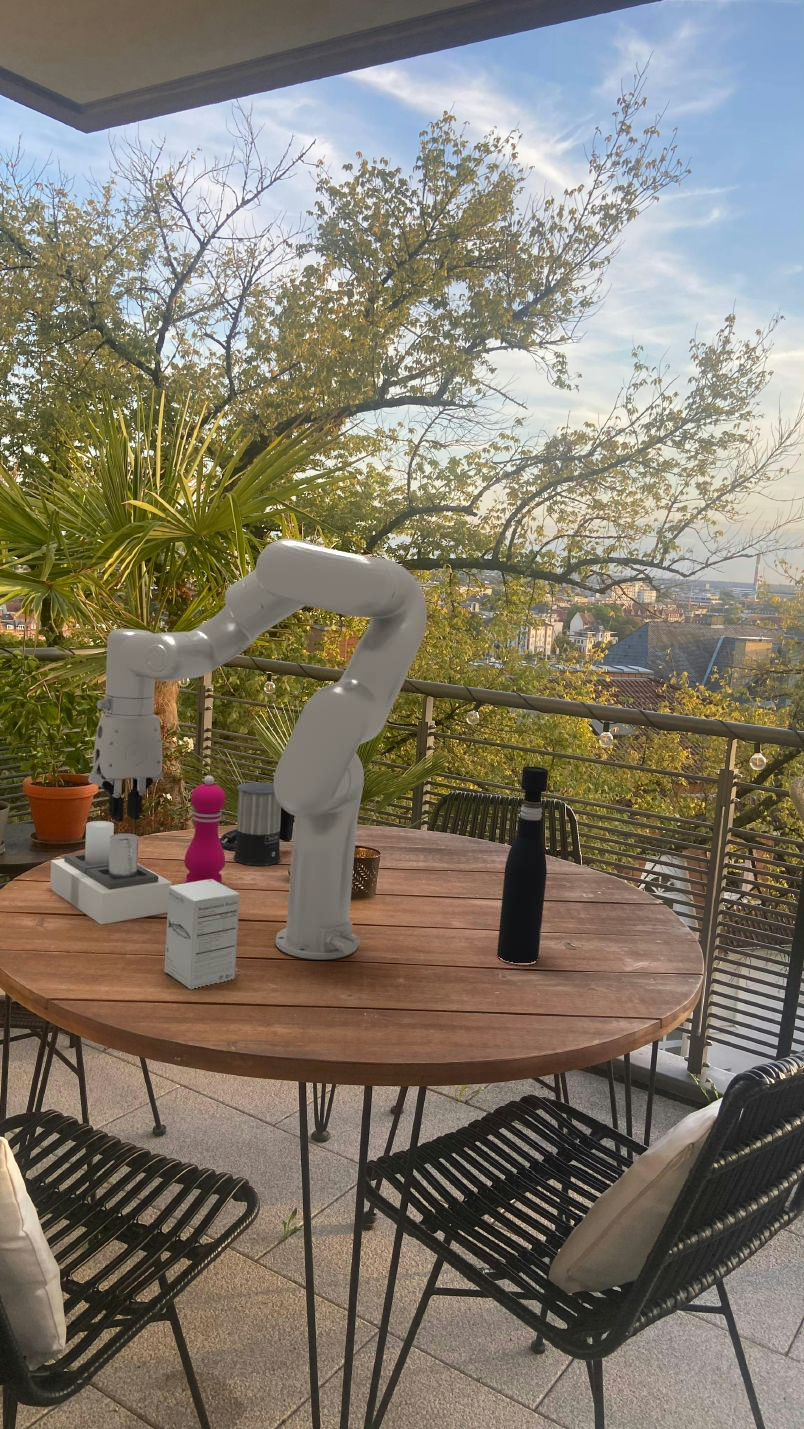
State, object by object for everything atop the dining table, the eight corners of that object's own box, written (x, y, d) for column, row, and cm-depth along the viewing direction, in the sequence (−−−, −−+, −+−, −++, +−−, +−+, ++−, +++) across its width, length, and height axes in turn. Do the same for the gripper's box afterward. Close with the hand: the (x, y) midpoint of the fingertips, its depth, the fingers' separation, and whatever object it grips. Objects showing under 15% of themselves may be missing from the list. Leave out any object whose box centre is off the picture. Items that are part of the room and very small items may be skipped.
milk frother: (266, 869, 187) (271, 794, 185) (194, 856, 192) (198, 782, 190) (298, 852, 201) (302, 782, 199) (230, 840, 206) (234, 771, 204)
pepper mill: (219, 892, 172) (225, 781, 169) (178, 889, 172) (184, 778, 169) (227, 880, 179) (233, 773, 176) (188, 877, 179) (193, 770, 176)
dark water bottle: (489, 951, 153) (507, 764, 149) (525, 949, 156) (543, 764, 152) (508, 967, 147) (526, 772, 143) (545, 964, 150) (564, 773, 146)
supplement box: (162, 972, 136) (166, 884, 134) (209, 962, 141) (213, 877, 139) (189, 991, 130) (193, 900, 129) (236, 979, 135) (241, 892, 134)
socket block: (170, 912, 160) (173, 840, 158) (101, 924, 152) (103, 849, 150) (116, 879, 175) (118, 813, 173) (50, 888, 167) (52, 820, 165)
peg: (140, 910, 160) (143, 838, 158) (114, 914, 157) (117, 842, 155) (127, 902, 163) (130, 832, 162) (102, 906, 160) (105, 835, 159)
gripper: (91, 711, 147) (87, 829, 150) (185, 708, 158) (180, 819, 161) (71, 704, 153) (67, 818, 155) (163, 702, 164) (158, 809, 166)
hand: (124, 818), depth 158 cm, fingers closed
